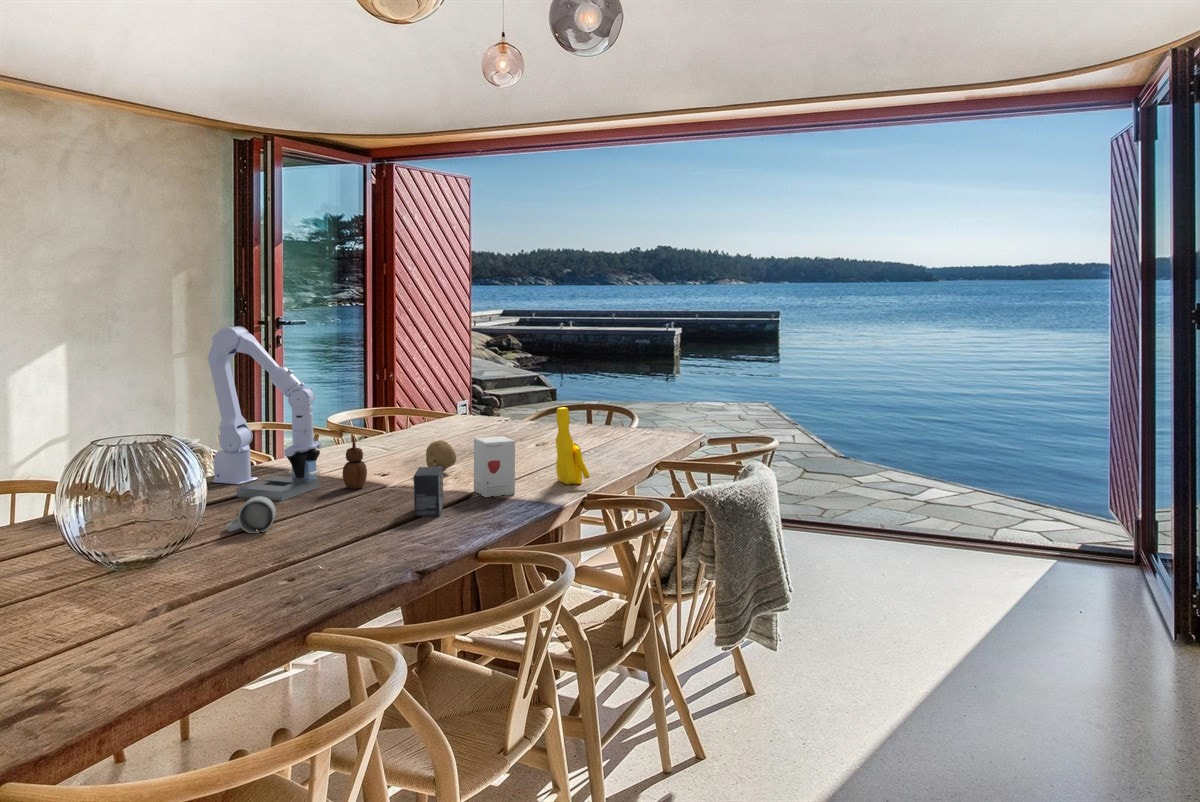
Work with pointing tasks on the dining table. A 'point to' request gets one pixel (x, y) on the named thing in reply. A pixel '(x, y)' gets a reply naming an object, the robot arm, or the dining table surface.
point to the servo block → (308, 470)
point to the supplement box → (494, 466)
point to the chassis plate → (278, 488)
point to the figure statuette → (568, 452)
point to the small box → (428, 491)
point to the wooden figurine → (354, 468)
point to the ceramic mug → (254, 516)
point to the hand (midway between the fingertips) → (304, 476)
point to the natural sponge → (440, 455)
